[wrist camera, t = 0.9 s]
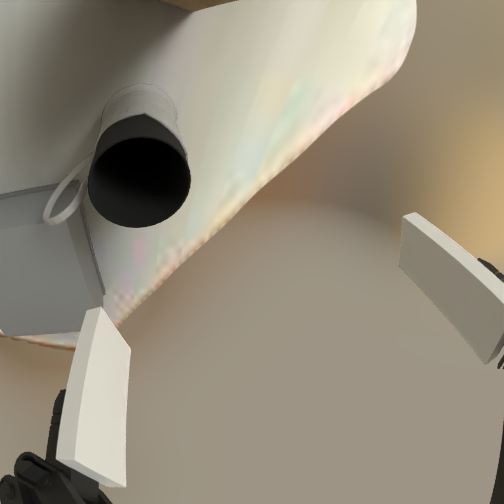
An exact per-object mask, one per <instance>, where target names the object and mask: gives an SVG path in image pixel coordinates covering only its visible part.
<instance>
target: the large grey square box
mask: <svg viewBox="0 0 504 504" xmlns="http://www.w3.org/2000/svg"><path fill="white" fill-rule="evenodd" d="M59 184H60V183H58V184H52V185H46V186H41V187H35V188H30V189H25V190H20V191H15V192H10V193H5V194H1V195H0V329H1V330H2V331H3V333H4V334H5V335H6V337H9V336H26V335H40V334H53V333H65V332H76V331H81V328H82V324H83V321H84V318H85V314H86V311H87V310H90V309H94V308H97V307H102V308H103V295H105V288H104V285H103V282H102V278H101V275H100V272H99V268H98V265H97V261H96V258H95V254H94V250H93V246H92V242H91V238H90V234H89V230H88V226H87V222H86V217H85V213H84V208H83V203H82V202H81V204H80V205H79V207H78V208H77V209H76V210H75V211H74V212H73V213H72V214H71V215H70V216H69V217H68V218H67V219H65V220H64V221H63V222H61V223H59V224H57V225H54V226H48V225H47V224H46V223H45V222H44V220H43V213H44V210H45V207H46V205H47V202H48V201H49V199H50V197H51V195H52V194H53V192H54V191H55V189H56V188H57V187H58V185H59ZM79 188H80V187H79V182H78V180H77V181H71V182H69V184H68V185H67V186H66V187H65V188H64V190H63V191H62V193H61V194H60V195H59V197H58V198H57V200H56V202H55V204H54V206H53V208H52V210H51V213H50V216H49V219H50V218H52V217H55V216H57V215H58V214H60V213H61V212H62V211H64V210H65V209H66V208H67V207H68V206H69V205H70V203H71V202H72V201H73V200H74V198H75V197H76V195H77V193H78V191H79Z"/></svg>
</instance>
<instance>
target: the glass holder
mask: <svg viewBox="0 0 504 504" xmlns="http://www.w3.org/2000/svg"><path fill="white" fill-rule="evenodd" d="M92 160H93V161H92ZM91 161H92V165H91V169H90V172H89V176H88V177H87V178H85V179H84V180H83V182H82V183H81V185H80V188H79V191H78V193H77V195H76V197H75V198H74V200H73V201H72V202H71V203H70V205H69V206H68V207H67V208H66V209H65V210H64V211H62V212H61V213H60V214H58V215H57V216H55V217H52V218H50V219H49V216H50V213H51V210H52V208H53V206H54V204H55V202H56V200H57V198H58V197H59V195H60V194H61V193H62V191H63V190H64V188H65V187H66V186H67V185H68V184H69V182H70V181H71V180H72V179H73V178H74V177H75V176H76V175H77V174H78V173H79V172H80V171H81V170H82V169H83V168H84V167H85V166H87V165H88V164H89V163H90V162H91ZM190 184H191V175H190V169H189V166H188V158H187V152H186V149H185V146H184V143H183V140H182V137H181V134H180V132H179V129H178V126H177V110H176V107H175V104H174V102H173V100H172V98H171V97H170V96H169V95H168V94H167V93H166V92H165V91H164V90H162V89H161V88H159V87H157V86H154V85H150V84H135V85H130V86H128V87H125V88H123V89H122V90H120V91H118V92H117V93H116V94H115V95H113V96H112V98H111V99H110V100H109V101H108V103H107V104H106V106H105V108H104V111H103V114H102V127H101V130H100V133H99V136H98V139H97V142H96V145H95V148H94V151H93V152H92V153H91V154H90V155H88V156H87V157H86V158H85V159H84V160H83V161H82V162H80V163H79V164H78V165H77V166H76V167H75V168H74V169H73V170H72V171H71V172H70V173H69V174H68V175H67V176H66V177H65V178H64V179H63V180H62V182H61V183H60V184H59V185H58V187H57V188H56V189H55V191H54V192H53V194H52V195H51V197H50V199H49V201H48V202H47V205H46V207H45V210H44V213H43V220H44V222H45V223H46V224H47V225H48V226H54V225H57V224H59V223H61V222H63V221H64V220H65V219H67V218H68V217H69V216H70V215H71V214H72V213H73V212H74V211H75V210H76V209H77V208H78V207H79V205H80V204H81V202H82V200H83V198H84V196H85V193H86V189H87V187H88V194H89V197H90V200H91V202H92V204H93V206H94V207H95V209H96V210H97V211H98V212H99V213H100V214H101V215H102V216H103V217H104V218H105V219H107V220H109V221H110V222H112V223H115V224H117V225H120V226H124V227H131V228H141V227H148V226H152V225H155V224H158V223H161V222H162V221H164V220H166V219H168V218H169V217H171V216H172V215H173V214H174V213H175V212H176V211H177V210H178V209H179V208H180V207H181V206H182V204H183V203H184V202H185V200H186V198H187V196H188V193H189V189H190Z"/></svg>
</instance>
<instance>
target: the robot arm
mask: <svg viewBox="0 0 504 504" xmlns="http://www.w3.org/2000/svg"><path fill="white" fill-rule="evenodd" d="M399 267H400V268H401V269H402V270H403V271H404V273H405V274H406V275H407V276H408V277H409V278H410V279H411V280H412V281H413V282H414V283H415V284H416V285H417V286H418V287H419V288H420V289H421V290H422V291H423V293H424V294H425V295H426V296H427V297H428V298H429V299H430V300H431V301H432V302H433V304H434V305H435V306H436V307H437V308H438V309H439V310H440V311H441V312H442V313H443V315H444V316H445V317H446V318H447V319H448V320H449V322H450V323H451V324H452V325H453V326H454V328H455V329H456V330H457V331H458V332H459V333H460V334H461V336H462V337H463V338H464V339H465V341H466V342H467V343H468V344H469V346H470V347H471V348H472V349H473V350H474V352H475V353H476V354H477V356H478V357H479V358H480V359H481V361H482V362H483V363H484V364H485V365H486V364H487V363H489V362H490V361H491V360H493V359H494V358H495V357H497V356H498V354H499V352H500V350H501V349H502V347H503V345H504V275H503V274H502V273H499V271H498V270H497V269H496V268H495V267H494V266H493V265H491V264H490V263H488V262H486V261H484V260H482V259H480V258H478V259H476V258H474V257H473V256H472V255H471V254H469V253H468V252H467V251H466V250H465V249H463V248H462V247H461V246H460V245H458V244H457V243H456V242H455V241H453V240H452V239H451V238H450V237H448V236H447V235H446V234H444V233H443V232H442V231H440V230H439V229H438V228H437V227H435V226H434V225H432V224H431V223H429V222H428V221H427V220H426V219H424V218H423V217H422V216H420V215H419V214H417V213H416V212H414V213H411V214H408V215H405V216H403V217H402V235H401V248H400V260H399ZM130 354H131V349H130V347H129V346H128V345H127V343H126V342H125V340H124V339H123V338H122V336H121V335H120V333H119V332H118V330H117V329H116V328H115V326H114V325H113V323H112V322H111V320H110V319H109V317H108V316H107V314H106V313H105V311H104V310H103V308H102V307H97V308H94V309H90V310H87V311H86V314H85V318H84V321H83V324H82V328H81V331H80V335H79V339H78V342H77V346H76V350H75V354H74V358H73V362H72V366H71V370H70V375H69V380H68V385H67V389H66V390H65V389H64V390H61V391H60V393H59V395H58V396H57V398H56V400H55V403H54V408H53V416H52V420H51V426H50V431H49V438H48V445H47V453H46V459H45V460H43V459H42V458H40V457H38V456H37V455H35V454H34V453H31V452H24V453H22V454H21V455H20V456H19V457H18V458H17V460H16V463H15V466H14V475H15V477H14V476H11V475H5V476H4V477H3V478H2V479H1V481H0V501H1V504H112V503H111V501H110V500H109V499H108V498H107V496H106V495H105V494H104V493H103V492H102V491H101V490H100V489H99V488H98V487H99V483H101V484H103V485H105V486H107V487H126V457H125V456H126V448H125V447H126V409H127V390H128V377H129V365H130ZM503 362H504V355H503V357H502V358H501V360H500V362H499V363H498V369H500V367H501V366H502V364H503ZM503 369H504V367H503ZM490 504H504V424H503V434H502V443H501V451H500V458H499V464H498V469H497V475H496V480H495V484H494V489H493V493H492V497H491V501H490Z"/></svg>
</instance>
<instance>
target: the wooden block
mask: <svg viewBox="0 0 504 504" xmlns="http://www.w3.org/2000/svg"><path fill="white" fill-rule="evenodd" d="M159 1H162V2H165V3H168V4H171V5H174V6H177V7H180V8H182V9H185V10H188V11H191V12H194V11H198V10H201V9H205V8H208V7H212V6H216V5H220V4H224V3H228V2H233V1H237V0H159Z"/></svg>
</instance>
